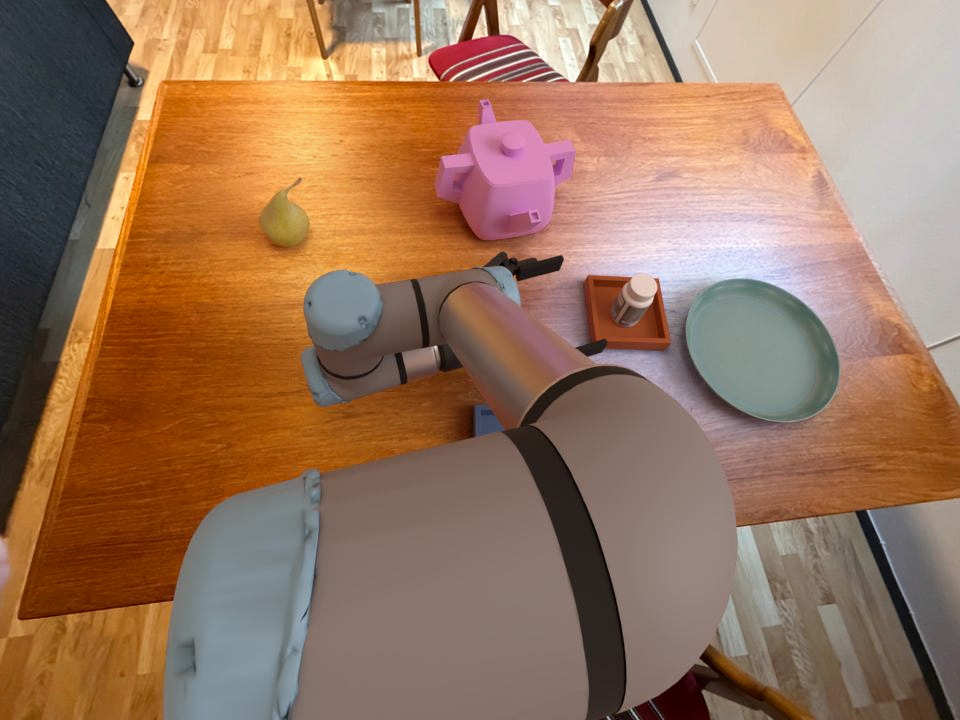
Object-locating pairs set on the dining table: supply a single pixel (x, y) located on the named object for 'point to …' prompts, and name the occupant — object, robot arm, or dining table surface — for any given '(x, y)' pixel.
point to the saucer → (762, 350)
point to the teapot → (504, 176)
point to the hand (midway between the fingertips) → (581, 302)
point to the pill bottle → (633, 300)
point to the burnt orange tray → (638, 337)
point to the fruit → (284, 220)
